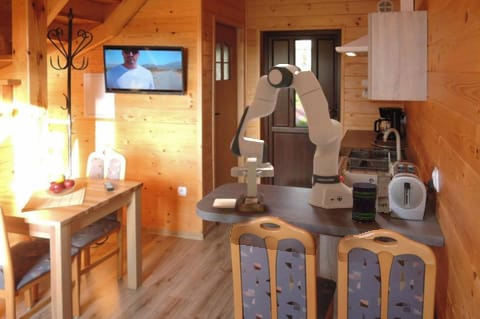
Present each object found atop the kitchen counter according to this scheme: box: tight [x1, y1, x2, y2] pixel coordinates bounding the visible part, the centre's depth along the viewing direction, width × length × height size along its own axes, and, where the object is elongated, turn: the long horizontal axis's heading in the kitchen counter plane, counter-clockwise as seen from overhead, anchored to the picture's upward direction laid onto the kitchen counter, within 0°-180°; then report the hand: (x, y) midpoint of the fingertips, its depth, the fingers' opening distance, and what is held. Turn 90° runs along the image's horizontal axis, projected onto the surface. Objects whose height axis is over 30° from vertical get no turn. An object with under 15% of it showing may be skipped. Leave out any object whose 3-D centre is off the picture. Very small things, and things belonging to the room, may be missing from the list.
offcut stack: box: [243, 197, 258, 204], centre depth 220 cm, size 6×4×5 cm, turn 87°
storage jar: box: [351, 182, 377, 224], centre depth 203 cm, size 10×10×15 cm
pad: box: [212, 198, 237, 209], centre depth 230 cm, size 10×13×1 cm
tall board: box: [246, 158, 258, 197], centre depth 227 cm, size 4×10×16 cm, turn 177°
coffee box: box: [375, 172, 394, 214], centre depth 218 cm, size 9×6×16 cm
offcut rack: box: [237, 193, 265, 213], centre depth 226 cm, size 11×18×4 cm, turn 177°
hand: (252, 174), depth 226 cm, fingers closed on tall board, 4 cm apart
